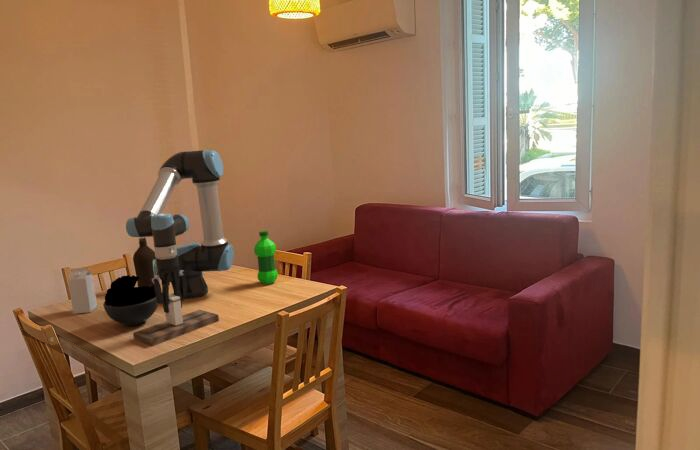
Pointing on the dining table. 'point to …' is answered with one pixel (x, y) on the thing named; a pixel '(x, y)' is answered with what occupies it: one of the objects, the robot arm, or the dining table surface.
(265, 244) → the plastic bottle
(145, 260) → the olive oil
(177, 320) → the fader tab
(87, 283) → the milk carton
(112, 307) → the coal bowl
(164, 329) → the dark brown wooden board
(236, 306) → the dining table surface
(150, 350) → the dining table surface
